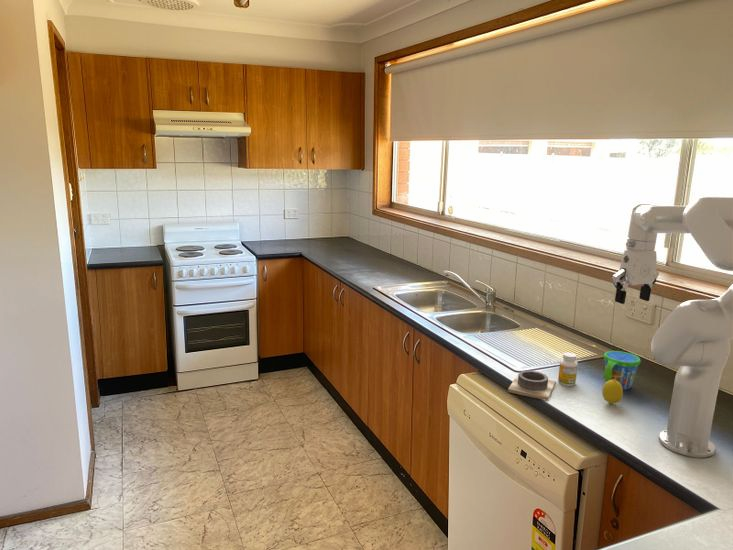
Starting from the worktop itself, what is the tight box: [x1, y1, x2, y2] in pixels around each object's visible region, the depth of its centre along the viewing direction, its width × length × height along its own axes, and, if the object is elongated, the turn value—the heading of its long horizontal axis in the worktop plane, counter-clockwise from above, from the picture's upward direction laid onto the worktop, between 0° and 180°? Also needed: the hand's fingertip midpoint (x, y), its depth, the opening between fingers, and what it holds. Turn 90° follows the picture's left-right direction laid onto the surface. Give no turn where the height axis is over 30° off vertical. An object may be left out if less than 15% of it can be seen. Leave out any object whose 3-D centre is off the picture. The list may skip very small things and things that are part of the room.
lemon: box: [601, 379, 624, 405], centre depth 165 cm, size 6×6×8 cm
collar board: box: [507, 370, 557, 401], centre depth 175 cm, size 14×12×4 cm
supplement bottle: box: [557, 352, 579, 387], centre depth 179 cm, size 5×5×10 cm
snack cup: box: [603, 350, 642, 391], centre depth 178 cm, size 16×10×10 cm
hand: (631, 301), depth 166 cm, fingers open, 9 cm apart
